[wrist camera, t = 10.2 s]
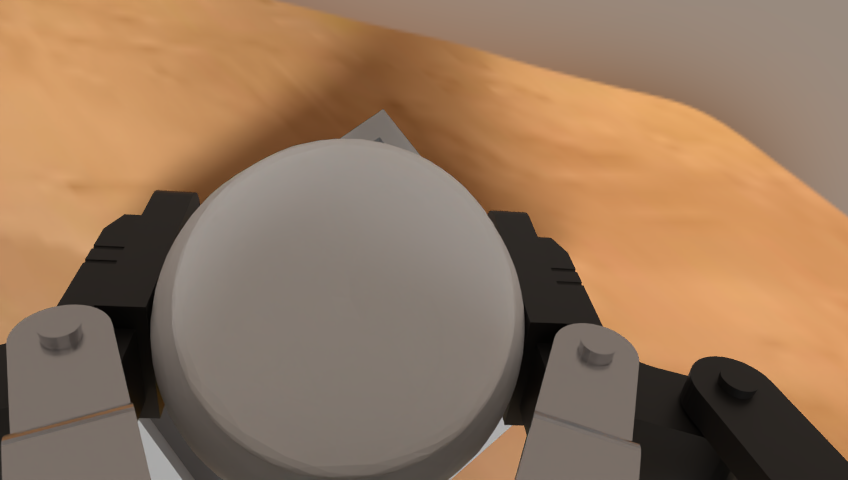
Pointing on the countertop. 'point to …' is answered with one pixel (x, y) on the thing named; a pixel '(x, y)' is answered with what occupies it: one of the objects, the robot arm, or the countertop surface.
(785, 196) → the countertop surface
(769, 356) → the countertop surface
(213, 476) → the square grey tray
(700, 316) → the countertop surface
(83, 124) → the countertop surface
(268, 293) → the supplement bottle
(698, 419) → the robot arm
